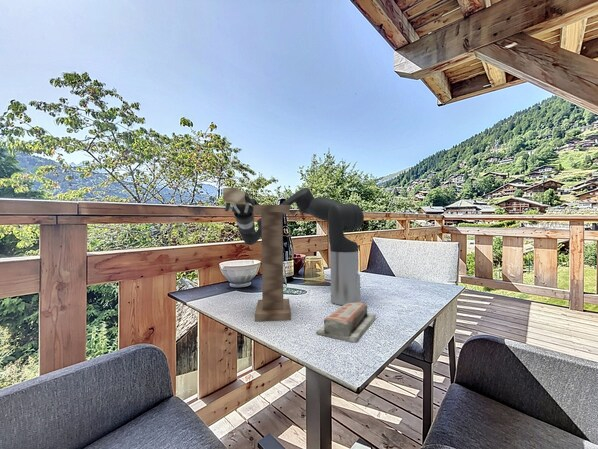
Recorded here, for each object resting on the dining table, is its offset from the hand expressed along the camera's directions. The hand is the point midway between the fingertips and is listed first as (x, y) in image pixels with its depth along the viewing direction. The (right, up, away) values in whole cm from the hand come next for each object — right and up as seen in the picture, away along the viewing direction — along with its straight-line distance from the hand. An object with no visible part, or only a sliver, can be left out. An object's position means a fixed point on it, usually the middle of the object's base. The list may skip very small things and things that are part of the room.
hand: (239, 194), depth 96 cm
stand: (+14, -37, -16) cm, 43 cm away
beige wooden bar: (+1, -4, -6) cm, 7 cm away
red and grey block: (+35, -38, -27) cm, 58 cm away
